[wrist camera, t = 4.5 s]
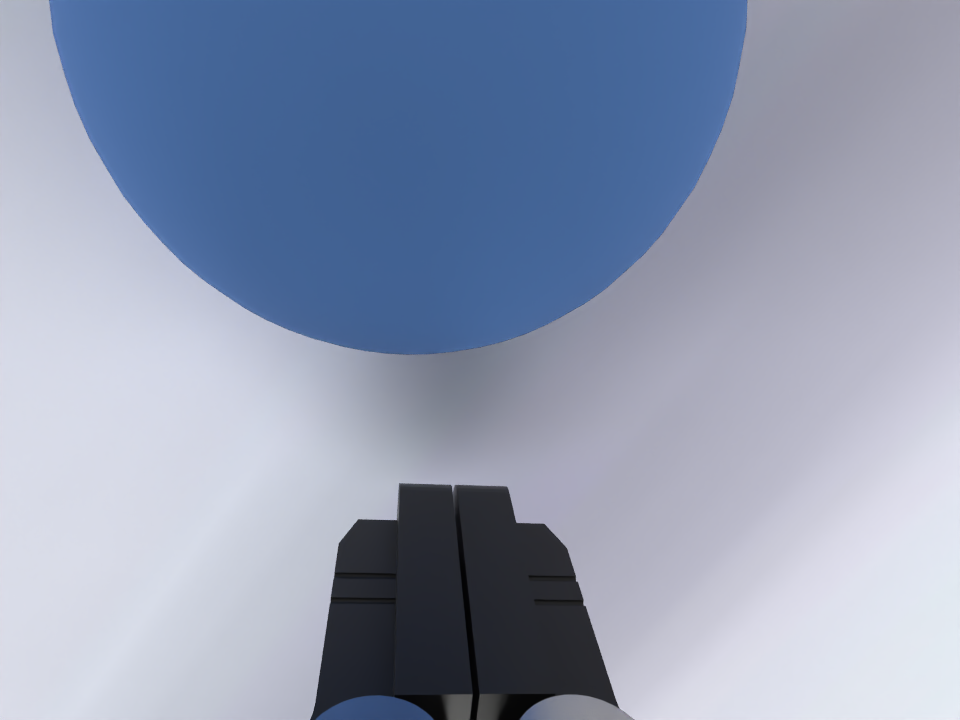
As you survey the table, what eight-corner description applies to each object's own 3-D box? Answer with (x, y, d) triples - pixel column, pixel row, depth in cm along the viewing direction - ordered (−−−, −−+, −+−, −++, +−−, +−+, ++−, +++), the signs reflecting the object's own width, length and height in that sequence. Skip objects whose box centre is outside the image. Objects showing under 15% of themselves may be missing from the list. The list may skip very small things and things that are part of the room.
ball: (-482, -130, 3) (19, -467, 6) (178, 471, 7) (260, 114, 10) (1099, -291, 2) (739, -561, 5) (727, 446, 7) (648, 84, 10)
